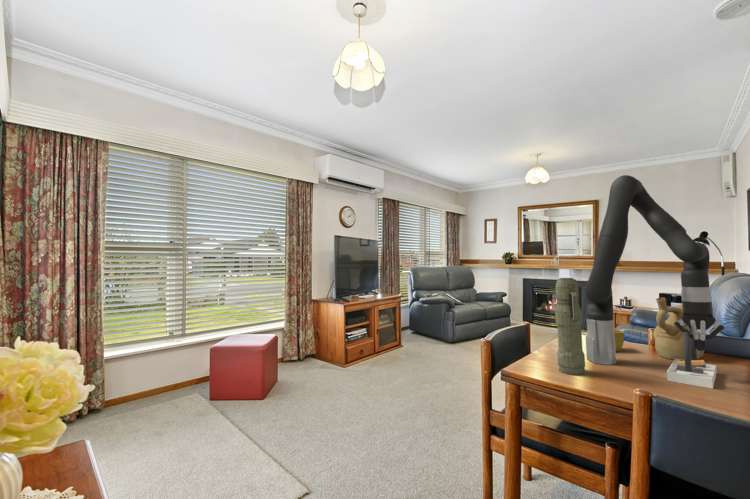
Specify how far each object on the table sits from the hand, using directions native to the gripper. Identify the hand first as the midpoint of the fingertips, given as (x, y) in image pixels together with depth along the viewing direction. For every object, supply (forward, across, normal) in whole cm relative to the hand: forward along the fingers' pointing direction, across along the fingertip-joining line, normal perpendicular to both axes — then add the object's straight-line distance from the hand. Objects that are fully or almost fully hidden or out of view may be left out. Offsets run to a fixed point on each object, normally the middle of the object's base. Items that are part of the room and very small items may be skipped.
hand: (700, 350), depth 115 cm
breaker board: (+10, -3, 0) cm, 10 cm away
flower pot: (+10, -32, +22) cm, 40 cm away
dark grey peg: (+6, -3, -9) cm, 11 cm away
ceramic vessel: (+10, -9, +27) cm, 30 cm away
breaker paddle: (+5, -3, 0) cm, 6 cm away
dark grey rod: (+6, -3, +8) cm, 11 cm away
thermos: (+9, -34, -20) cm, 41 cm away
